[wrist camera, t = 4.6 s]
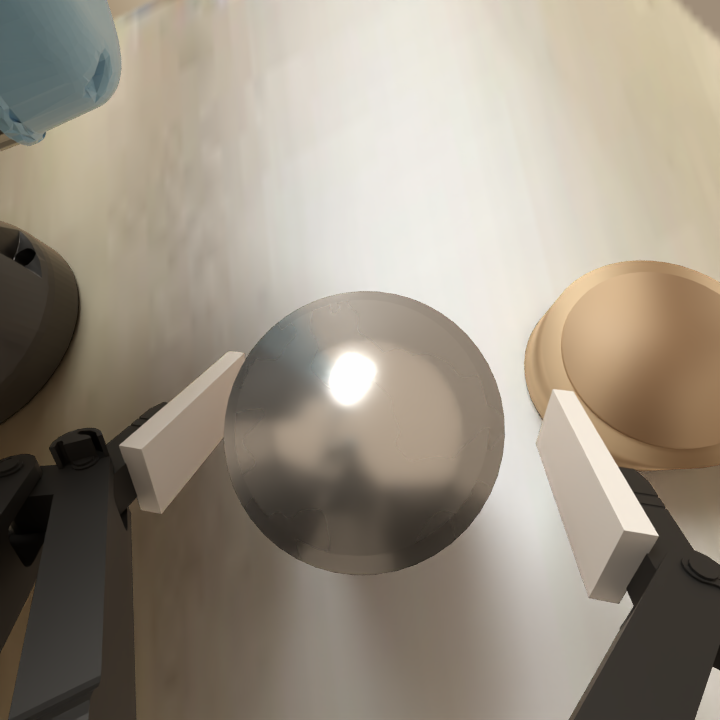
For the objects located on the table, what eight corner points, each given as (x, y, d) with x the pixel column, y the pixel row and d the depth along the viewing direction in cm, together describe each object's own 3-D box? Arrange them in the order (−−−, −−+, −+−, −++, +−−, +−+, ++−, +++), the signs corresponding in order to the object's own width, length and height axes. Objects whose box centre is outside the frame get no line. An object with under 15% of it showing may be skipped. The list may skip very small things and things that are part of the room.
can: (313, 509, 20) (180, 547, 8) (335, 386, 22) (253, 274, 10) (442, 532, 19) (504, 614, 7) (453, 401, 21) (515, 295, 9)
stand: (521, 454, 19) (544, 449, 16) (526, 283, 22) (545, 251, 19) (743, 486, 18) (813, 486, 15) (716, 297, 21) (770, 265, 18)
